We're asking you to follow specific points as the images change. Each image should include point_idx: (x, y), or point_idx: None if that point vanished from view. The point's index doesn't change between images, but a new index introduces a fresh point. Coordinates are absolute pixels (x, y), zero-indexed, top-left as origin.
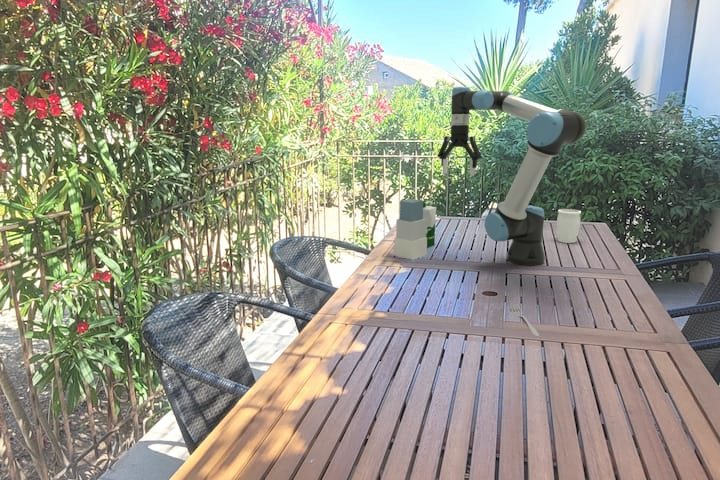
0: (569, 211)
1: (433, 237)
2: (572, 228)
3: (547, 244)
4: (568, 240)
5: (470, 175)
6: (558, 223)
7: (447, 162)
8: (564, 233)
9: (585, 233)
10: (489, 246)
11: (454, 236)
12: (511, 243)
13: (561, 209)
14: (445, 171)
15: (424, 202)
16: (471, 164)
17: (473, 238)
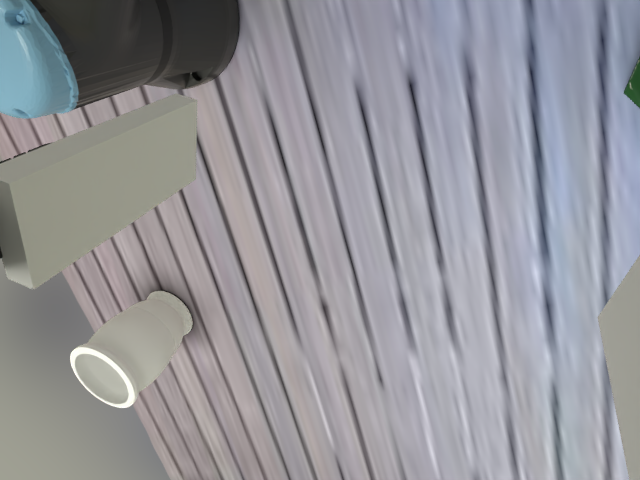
0: (120, 398)
1: (636, 66)
2: (117, 314)
3: (198, 262)
4: (154, 296)
5: (187, 98)
6: (150, 338)
7: (629, 468)
8: (148, 307)
9: (166, 399)
10: (352, 169)
11: (538, 290)
12: (185, 7)
13: (133, 402)
14: (633, 297)
15: None
16: (57, 148)
17: (445, 277)
